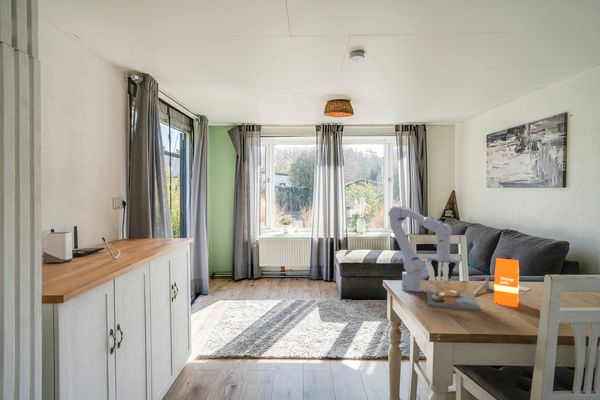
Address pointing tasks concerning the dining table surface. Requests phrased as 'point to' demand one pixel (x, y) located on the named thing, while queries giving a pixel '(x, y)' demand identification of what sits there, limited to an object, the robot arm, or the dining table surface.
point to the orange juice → (506, 282)
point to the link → (440, 296)
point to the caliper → (482, 286)
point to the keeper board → (454, 301)
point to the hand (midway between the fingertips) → (443, 277)
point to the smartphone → (524, 288)
